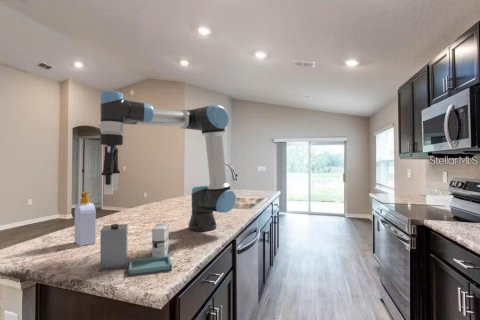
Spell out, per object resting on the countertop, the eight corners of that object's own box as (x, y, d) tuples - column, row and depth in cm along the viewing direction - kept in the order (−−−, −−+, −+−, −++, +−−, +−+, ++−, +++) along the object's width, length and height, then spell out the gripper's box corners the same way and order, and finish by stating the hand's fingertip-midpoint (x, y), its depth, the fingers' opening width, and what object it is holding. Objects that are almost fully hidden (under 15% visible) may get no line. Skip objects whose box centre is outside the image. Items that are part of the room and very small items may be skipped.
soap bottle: (97, 243, 123) (97, 192, 123) (80, 246, 119) (80, 193, 119) (91, 239, 130) (91, 190, 130) (74, 242, 125) (74, 191, 125)
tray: (169, 260, 102) (169, 255, 102) (171, 270, 93) (171, 265, 93) (130, 265, 97) (130, 260, 97) (128, 275, 88) (128, 270, 88)
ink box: (156, 252, 111) (156, 223, 111) (169, 252, 111) (169, 223, 111) (151, 260, 102) (151, 228, 102) (165, 259, 103) (165, 228, 103)
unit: (128, 258, 104) (128, 221, 104) (127, 267, 95) (127, 226, 95) (102, 261, 101) (102, 222, 101) (98, 271, 92) (98, 228, 92)
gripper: (106, 136, 112) (105, 189, 111) (93, 130, 88) (92, 196, 88) (126, 137, 114) (125, 188, 114) (118, 131, 90) (118, 195, 90)
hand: (111, 192), depth 101 cm, fingers open, 13 cm apart
